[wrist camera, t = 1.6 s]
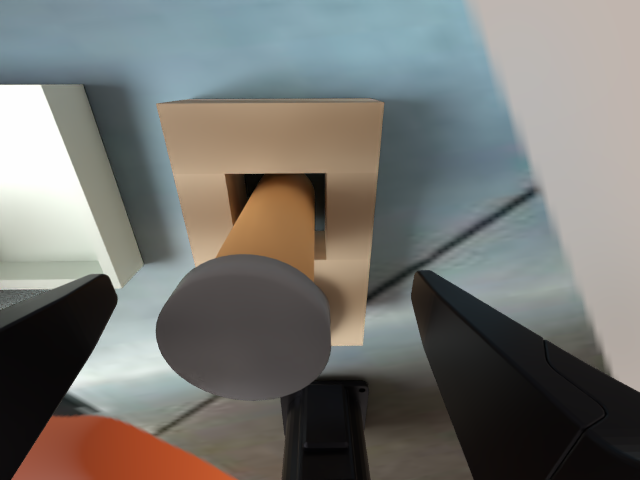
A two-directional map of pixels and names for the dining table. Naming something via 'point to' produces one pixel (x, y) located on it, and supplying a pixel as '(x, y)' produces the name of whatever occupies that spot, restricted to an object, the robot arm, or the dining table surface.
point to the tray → (58, 193)
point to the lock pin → (253, 302)
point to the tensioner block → (284, 157)
